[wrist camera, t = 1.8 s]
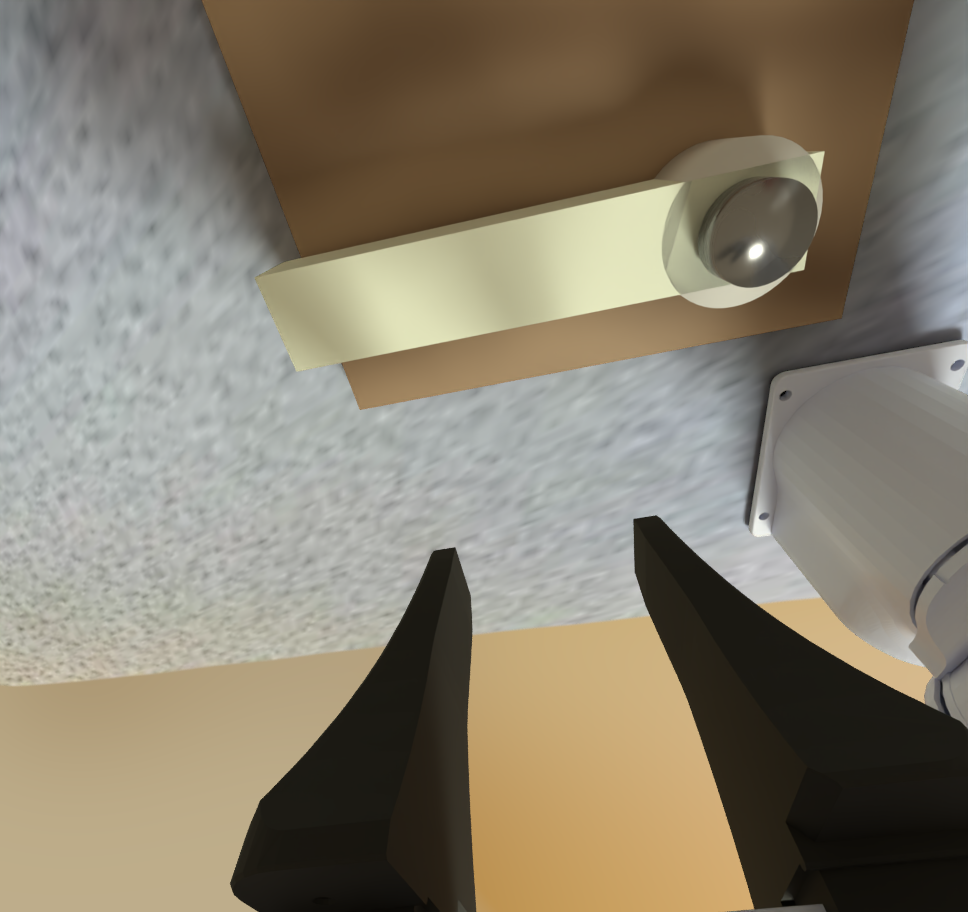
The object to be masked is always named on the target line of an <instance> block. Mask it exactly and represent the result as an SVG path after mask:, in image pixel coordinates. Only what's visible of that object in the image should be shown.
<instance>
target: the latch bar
mask: <svg viewBox="0 0 968 912" xmlns="http://www.w3.org/2000/svg"><path fill="white" fill-rule="evenodd" d="M824 153H825V151H809V152H806V151H805V150H804V149H803V148H802V147H801V146H800V145H798V144H796V143H795V142H793V141H791V140H788V139H786V138H783V137H778V136H772V135H759V136H748V137H737V138H726V139H716V140H709V141H705V142H702V143H699V144H696V145H694V146H692V147H690V148H688V149H686V150H684V151H683V152H681V153H679V154H678V155H677V156H676V157H674V158H673V159H672V160H671V161H670V162H668V163H667V164H666V165H665V166H664V167H663V168H662V170H661V171H660V172H659V173H658V174H657V176H656V177H655V178H654V179H652V180H648V181H643V182H639V183H634V184H630V185H625V186H621V187H617V188H612V189H608V190H603V191H599V192H594V193H590V194H585V195H581V196H576V197H572V198H567V199H563V200H558V201H554V202H549V203H545V204H541V205H536V206H532V207H527V208H523V209H518V210H514V211H509V212H505V213H500V214H496V215H491V216H487V217H482V218H478V219H474V220H469V221H465V222H460V223H456V224H451V225H447V226H442V227H438V228H433V229H429V230H424V231H420V232H415V233H411V234H407V235H402V236H398V237H393V238H389V239H384V240H380V241H375V242H371V243H366V244H362V245H357V246H353V247H348V248H344V249H340V250H335V251H331V252H326V253H322V254H317V255H313V256H308V257H304V258H299V259H295V260H290V261H286V262H283V263H281V264H279V265H277V266H276V267H274V268H272V269H270V270H268V271H266V272H264V273H262V274H260V275H259V276H257V277H255V280H256V282H257V284H258V286H259V289H260V291H261V293H262V295H263V298H264V300H265V302H266V304H267V306H268V309H269V311H270V313H271V315H272V318H273V320H274V322H275V324H276V327H277V329H278V331H279V333H280V335H281V338H282V340H283V342H284V344H285V347H286V349H287V351H288V353H289V356H290V358H291V360H292V362H293V364H294V367H295V369H296V371H302V370H307V369H312V368H317V367H322V366H327V365H332V364H337V363H342V362H347V361H352V360H357V359H362V358H367V357H372V356H377V355H382V354H387V353H392V352H397V351H402V350H407V349H412V348H417V347H422V346H427V345H432V344H437V343H442V342H447V341H452V340H457V339H462V338H467V337H472V336H477V335H482V334H487V333H492V332H497V331H502V330H507V329H512V328H517V327H522V326H527V325H532V324H537V323H542V322H547V321H552V320H557V319H562V318H567V317H572V316H577V315H582V314H587V313H592V312H597V311H602V310H607V309H612V308H616V307H621V306H626V305H631V304H636V303H641V302H646V301H651V300H656V299H661V298H666V297H671V296H676V295H681V296H682V297H684V298H685V299H687V300H689V301H690V302H693V303H695V304H697V305H700V306H704V307H709V308H728V307H734V306H738V305H742V304H745V303H747V302H750V301H752V300H754V299H756V298H758V297H760V296H762V295H764V294H765V293H767V292H768V291H770V290H771V289H773V288H774V287H775V286H777V285H778V284H779V283H780V282H781V281H782V280H783V279H785V278H786V277H787V276H788V275H789V274H790V273H791V272H796V271H801V270H804V268H805V262H806V256H807V251H808V250H807V251H806V253H805V254H804V256H803V257H802V258H801V260H800V261H799V262H798V263H797V264H796V265H795V266H794V267H793V268H792V269H791V270H790V271H789V272H788V273H786V274H785V275H784V276H782V277H781V278H779V279H778V280H776V281H774V282H772V283H769V284H767V285H764V286H760V287H754V288H744V287H739V286H735V285H733V284H731V283H729V282H727V281H724V280H722V279H720V278H718V277H716V276H714V275H713V274H711V273H710V272H709V271H708V270H707V269H706V268H705V267H704V265H703V264H702V261H701V259H700V256H699V252H698V235H699V230H700V226H701V224H702V221H703V219H704V217H705V214H706V213H707V211H708V209H709V208H710V206H711V205H712V204H713V202H714V201H715V200H716V199H717V198H718V197H719V196H720V195H721V194H722V193H723V192H724V191H725V190H726V189H728V188H729V187H731V186H732V185H734V184H736V183H737V182H739V181H742V180H744V179H747V178H751V177H757V176H765V177H784V178H791V179H795V180H798V181H800V182H801V183H803V184H804V185H805V186H807V187H808V188H809V190H810V191H811V192H812V194H813V196H814V198H815V201H816V204H817V209H818V220H817V227H818V224H819V220H820V216H821V211H822V203H823V189H822V183H821V178H820V176H821V170H822V164H823V158H824ZM817 227H816V230H817ZM815 233H816V231H815ZM814 235H815V234H814Z"/></svg>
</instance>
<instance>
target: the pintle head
mask: <svg viewBox="0 0 968 912" xmlns="http://www.w3.org/2000/svg"><path fill="white" fill-rule="evenodd" d="M817 220H818V209H817V204H816V201H815V198H814V196H813V194H812V192H811V191H810V190H809V188H808V187H807V186H805V185H804V184H803V183H801V182H800V181H798V180H795V179H791V178H784V177H765V176H757V177H751V178H747V179H744V180H742V181H739V182H737V183H736V184H734V185H732V186H731V187H729V188H728V189H726V190H725V191H724V192H723V193H722V194H721V195H720V196H719V197H718V198H717V199H716V200H715V201H714V202H713V204H712V205H711V206H710V208H709V209H708V211H707V213H706V214H705V217H704V219H703V221H702V224H701V226H700V230H699V235H698V252H699V256H700V259H701V261H702V264H703V265H704V267H705V268H706V269H707V270H708V271H709V272H710V273H711V274H713V275H714V276H716V277H718V278H720V279H722V280H724V281H727V282H729V283H731V284H733V285H735V286H739V287H744V288H754V287H760V286H764V285H767V284H769V283H772V282H774V281H776V280H778V279H779V278H781V277H782V276H784V275H785V274H786V273H788V272H789V271H790V270H791V269H792V268H793V267H794V266H795V265H796V264H797V263H798V262H799V261H800V260H801V258H802V257H803V256H804V254H805V253H806V251H807V250H808V248H809V246H810V244H811V242H812V240H813V237H814V234H815V231H816V227H817Z"/></svg>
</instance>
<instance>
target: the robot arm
mask: <svg viewBox="0 0 968 912" xmlns="http://www.w3.org/2000/svg"><path fill="white" fill-rule="evenodd" d="M954 362H955V363H954ZM953 363H954V364H953ZM952 364H953V365H952ZM951 365H952V366H951ZM967 367H968V341H965V340H955V341H950V342H944V343H939V344H933V345H928V346H922V347H917V348H911V349H906V350H900V351H895V352H889V353H884V354H878V355H873V356H868V357H862V358H857V359H851V360H846V361H840V362H835V363H829V364H824V365H818V366H813V367H807V368H802V369H796V370H791V371H785V372H782V373H779V374H778V375H777V376H775V378H774V379H773V380H772V383H771V387H770V393H769V400H768V406H767V413H766V419H765V425H764V432H763V438H762V445H761V451H760V457H759V464H758V470H757V476H756V483H755V489H754V496H753V502H752V508H751V515H750V521H749V531H750V532H751V534H752V535H753V536H756V537H762V536H768V535H772V536H773V537H774V538H775V540H776V541H777V542H778V543H779V545H780V546H781V547H782V548H783V550H784V551H785V552H786V553H787V555H788V556H789V557H790V559H791V560H792V561H793V562H794V564H795V565H796V566H797V567H798V569H799V570H800V571H801V572H802V574H803V575H804V576H805V577H806V579H807V580H808V581H809V582H810V584H811V585H812V586H813V587H814V589H815V590H816V591H817V592H818V594H819V595H820V596H821V597H822V599H823V600H824V601H825V602H826V604H827V605H828V606H829V607H830V609H831V610H832V611H833V612H834V614H835V615H836V616H837V617H838V619H839V620H840V621H841V622H842V623H843V624H844V625H845V626H846V627H847V628H849V630H851V631H852V632H853V633H854V634H855V635H857V636H858V637H859V638H861V639H862V640H864V641H865V642H867V643H868V644H870V645H872V646H873V647H875V648H877V649H878V650H880V651H882V652H884V653H886V654H888V655H890V656H892V657H894V658H897V659H899V660H902V661H904V662H908V663H911V664H914V665H918V666H923V667H926V668H927V669H928V670H929V671H930V672H931V673H932V675H933V677H932V678H931V679H930V681H929V682H928V684H927V686H926V691H925V695H924V698H925V704H924V703H922V702H920V701H918V700H915V699H914V698H911V697H909V696H907V695H905V694H903V693H901V692H899V691H897V690H895V689H893V688H891V687H889V686H887V685H886V684H884V683H882V682H880V681H878V680H876V679H874V678H872V677H871V676H869V675H867V674H865V673H863V672H861V671H859V670H858V669H856V668H854V667H852V666H851V665H849V664H847V663H845V662H844V661H842V660H841V659H839V658H837V657H835V656H834V655H832V654H830V653H829V652H827V651H825V650H824V649H822V648H820V647H819V646H817V645H815V644H814V643H812V642H810V641H809V640H807V639H806V638H804V637H803V636H801V635H800V634H798V633H797V632H795V631H794V630H792V629H791V628H789V627H788V626H786V625H785V624H783V623H782V622H780V621H779V620H777V619H776V618H774V617H773V616H771V615H770V614H769V613H767V612H766V611H765V610H763V609H762V608H760V607H759V606H758V605H757V604H755V603H754V602H753V601H751V600H750V599H749V598H747V597H746V596H745V595H744V594H742V593H741V592H740V591H739V590H737V589H736V588H735V587H734V586H732V585H731V584H730V583H729V582H728V581H726V580H725V579H724V578H723V577H722V576H720V575H719V574H718V573H717V572H716V571H715V570H714V569H712V568H711V567H710V566H709V565H708V564H707V563H706V562H705V561H703V560H702V559H701V558H700V557H699V556H698V555H697V554H696V553H695V552H694V551H693V550H692V549H690V548H689V547H688V546H687V545H686V544H685V543H684V542H683V541H682V540H681V539H680V538H679V537H678V536H677V535H676V534H675V533H674V532H673V531H672V530H671V529H670V528H669V527H668V526H667V525H666V524H665V523H664V521H663V520H662V519H661V518H659V517H658V516H650V517H643V518H637V519H633V522H634V561H635V574H636V577H637V580H638V583H639V586H640V590H641V593H642V596H643V599H644V602H645V605H646V607H647V610H648V612H649V614H650V617H651V619H652V621H653V623H654V625H655V628H656V630H657V632H658V634H659V636H660V639H661V641H662V643H663V645H664V647H665V650H666V652H667V654H668V656H669V659H670V661H671V663H672V665H673V667H674V670H675V672H676V674H677V676H678V679H679V681H680V683H681V685H682V688H683V690H684V693H685V695H686V698H687V700H688V703H689V705H690V708H691V711H692V714H693V717H694V720H695V723H696V726H697V729H698V731H699V734H700V737H701V740H702V743H703V746H704V749H705V752H706V755H707V758H708V761H709V764H710V767H711V770H712V773H713V776H714V779H715V782H716V785H717V788H718V792H719V794H720V798H721V801H722V804H723V807H724V810H725V813H726V816H727V819H728V823H729V826H730V829H731V832H732V835H733V839H734V842H735V845H736V849H737V852H738V855H739V859H740V862H741V865H742V868H743V871H744V875H745V878H746V882H747V885H748V888H749V892H750V895H751V899H752V902H753V905H754V910H741V911H729V912H968V395H967V394H965V393H963V392H961V391H959V390H958V389H959V387H960V384H961V382H962V379H963V377H964V374H965V372H966V369H967ZM786 390H787V391H786ZM783 391H786V393H785V394H784V395H783V396H782V397H779V396H780V394H781V393H782V392H783ZM762 513H763V514H762ZM760 514H761V515H760ZM471 647H472V611H471V595H470V592H469V589H468V586H467V583H466V580H465V576H464V573H463V570H462V567H461V564H460V561H459V558H458V554H457V551H456V548H455V547H454V548H448V549H442V550H436V551H434V552H433V553H432V554H431V557H430V559H429V562H428V564H427V566H426V569H425V571H424V574H423V576H422V578H421V580H420V583H419V585H418V587H417V589H416V591H415V593H414V595H413V597H412V599H411V601H410V603H409V605H408V607H407V609H406V612H405V614H404V615H403V617H402V619H401V621H400V623H399V625H398V626H397V628H396V630H395V632H394V633H393V635H392V637H391V639H390V641H389V642H388V644H387V646H386V647H385V649H384V651H383V653H382V654H381V656H380V657H379V659H378V660H377V662H376V664H375V665H374V667H373V668H372V669H371V671H370V673H369V674H368V675H367V677H366V679H365V680H364V681H363V683H362V684H361V685H360V687H359V688H358V690H357V691H356V692H355V694H354V695H353V696H352V698H351V699H350V700H349V702H348V703H347V704H346V706H345V707H344V708H343V710H342V711H341V712H340V713H339V715H338V716H337V717H336V718H335V720H334V721H333V722H332V723H331V724H330V726H329V727H328V728H327V729H326V730H325V731H324V733H323V734H322V735H321V736H320V737H319V739H318V740H317V741H316V742H315V743H314V745H313V746H312V747H311V748H310V749H309V750H308V752H307V753H306V754H305V755H304V756H303V757H302V758H301V759H300V760H299V761H298V762H297V763H296V765H294V766H293V768H292V769H291V770H290V771H289V772H288V773H287V774H286V775H285V776H284V777H283V778H282V779H281V780H280V781H279V782H278V783H277V784H276V785H275V786H274V787H273V788H272V789H271V790H270V791H269V793H267V794H266V795H265V796H264V798H262V799H261V800H260V802H259V805H258V808H257V810H256V812H255V814H254V817H253V819H252V821H251V824H250V826H249V829H248V832H247V835H246V838H245V841H244V843H243V846H242V850H241V852H240V856H239V858H238V861H237V864H236V867H235V870H234V873H233V876H232V879H231V882H230V885H231V888H232V891H233V893H234V895H235V896H236V897H237V898H238V899H239V900H241V901H242V902H244V903H245V904H247V905H248V906H250V907H252V908H253V909H255V910H256V911H258V912H476V902H475V901H476V900H475V885H474V871H473V855H472V835H471V818H470V817H471V816H470V795H469V769H468V736H467V719H468V697H469V680H470V664H471Z"/></svg>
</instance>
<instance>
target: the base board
mask: <svg viewBox="0 0 968 912" xmlns="http://www.w3.org/2000/svg"><path fill="white" fill-rule="evenodd" d="M202 3H203V5H204V8H205V10H206V13H207V15H208V18H209V21H210V23H211V26H212V28H213V31H214V34H215V36H216V39H217V41H218V44H219V47H220V49H221V52H222V54H223V57H224V59H225V62H226V65H227V67H228V70H229V72H230V75H231V78H232V80H233V83H234V85H235V88H236V91H237V93H238V96H239V98H240V101H241V103H242V106H243V109H244V111H245V114H246V116H247V119H248V122H249V124H250V127H251V129H252V132H253V135H254V137H255V140H256V142H257V145H258V147H259V150H260V153H261V155H262V158H263V160H264V163H265V166H266V168H267V171H268V173H269V176H270V179H271V181H272V184H273V186H274V189H275V191H276V194H277V197H278V199H279V202H280V204H281V207H282V210H283V212H284V215H285V217H286V220H287V222H288V225H289V228H290V230H291V233H292V235H293V238H294V241H295V243H296V246H297V248H298V251H299V254H300V256H301V258H304V257H308V256H313V255H317V254H322V253H326V252H331V251H335V250H340V249H344V248H348V247H353V246H357V245H362V244H366V243H371V242H375V241H380V240H384V239H389V238H393V237H398V236H402V235H407V234H411V233H415V232H420V231H424V230H429V229H433V228H438V227H442V226H447V225H451V224H456V223H460V222H465V221H469V220H474V219H478V218H482V217H487V216H491V215H496V214H500V213H505V212H509V211H514V210H518V209H523V208H527V207H532V206H536V205H541V204H545V203H549V202H554V201H558V200H563V199H567V198H572V197H576V196H581V195H585V194H590V193H594V192H599V191H603V190H608V189H612V188H617V187H621V186H625V185H630V184H634V183H639V182H643V181H648V180H652V179H654V178H655V177H656V176H657V174H658V173H659V172H660V171H661V170H662V168H663V167H664V166H665V165H666V164H667V163H668V162H670V161H671V160H672V159H673V158H674V157H676V156H677V155H678V154H679V153H681V152H683V151H684V150H686V149H688V148H690V147H692V146H694V145H696V144H699V143H702V142H705V141H709V140H716V139H726V138H737V137H748V136H759V135H772V136H778V137H783V138H786V139H788V140H791V141H793V142H795V143H796V144H798V145H800V146H801V147H802V148H803V149H804V150H805V151H806V152H809V151H825V153H824V158H823V164H822V170H821V176H820V178H821V183H822V189H823V203H822V211H821V216H820V220H819V224H818V227H817V230H816V233H815V235H814V237H813V240H812V242H811V244H810V246H809V248H808V251H807V256H806V262H805V268H804V270H801V271H796V272H791V273H790V274H789V275H788V276H787V277H786V278H785V279H783V280H782V281H781V282H780V283H779V284H778V285H777V286H775V287H774V288H773V289H771V290H770V291H768V292H767V293H765V294H764V295H762V296H760V297H758V298H756V299H754V300H752V301H750V302H747V303H745V304H742V305H738V306H734V307H728V308H709V307H704V306H700V305H697V304H695V303H693V302H690V301H689V300H687V299H685V298H684V297H682V296H681V295H676V296H671V297H666V298H661V299H656V300H651V301H646V302H641V303H636V304H631V305H626V306H621V307H616V308H612V309H607V310H602V311H597V312H592V313H587V314H582V315H577V316H572V317H567V318H562V319H557V320H552V321H547V322H542V323H537V324H532V325H527V326H522V327H517V328H512V329H507V330H502V331H497V332H492V333H487V334H482V335H477V336H472V337H467V338H462V339H457V340H452V341H447V342H442V343H437V344H432V345H427V346H422V347H417V348H412V349H407V350H402V351H397V352H392V353H387V354H382V355H377V356H372V357H367V358H362V359H357V360H352V361H347V362H342V365H343V367H344V370H345V373H346V375H347V378H348V380H349V383H350V385H351V388H352V391H353V393H354V396H355V398H356V401H357V404H358V406H359V409H360V410H362V409H367V408H373V407H378V406H383V405H388V404H394V403H399V402H404V401H409V400H415V399H420V398H425V397H430V396H436V395H441V394H446V393H451V392H457V391H462V390H467V389H473V388H478V387H483V386H488V385H494V384H499V383H504V382H509V381H515V380H520V379H525V378H530V377H536V376H541V375H546V374H551V373H557V372H562V371H567V370H572V369H578V368H583V367H588V366H594V365H599V364H604V363H609V362H615V361H620V360H625V359H630V358H636V357H641V356H646V355H651V354H657V353H662V352H667V351H672V350H678V349H683V348H688V347H693V346H699V345H704V344H709V343H714V342H720V341H725V340H730V339H736V338H741V337H746V336H751V335H757V334H762V333H767V332H772V331H778V330H783V329H788V328H793V327H799V326H804V325H809V324H814V323H820V322H825V321H830V320H835V319H841V318H842V314H843V310H844V305H845V301H846V296H847V292H848V288H849V283H850V279H851V275H852V270H853V266H854V261H855V257H856V253H857V248H858V244H859V239H860V235H861V231H862V226H863V222H864V218H865V213H866V209H867V204H868V200H869V196H870V191H871V187H872V182H873V178H874V174H875V169H876V165H877V161H878V156H879V152H880V147H881V143H882V139H883V134H884V130H885V125H886V121H887V117H888V112H889V108H890V104H891V99H892V95H893V90H894V86H895V82H896V77H897V73H898V68H899V64H900V60H901V55H902V51H903V47H904V42H905V38H906V33H907V29H908V25H909V20H910V16H911V11H912V7H913V3H914V0H202Z"/></svg>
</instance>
